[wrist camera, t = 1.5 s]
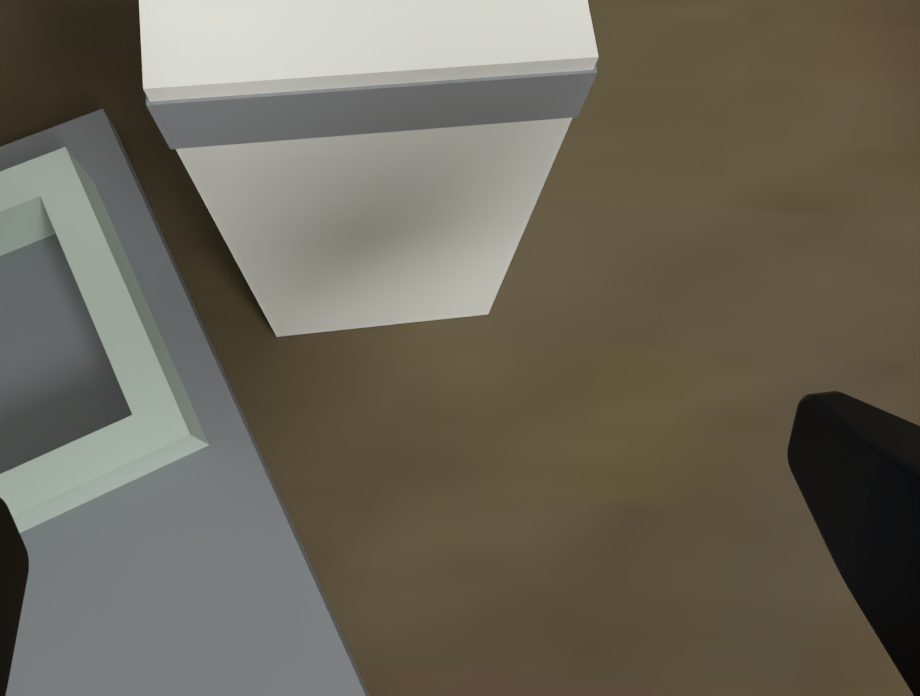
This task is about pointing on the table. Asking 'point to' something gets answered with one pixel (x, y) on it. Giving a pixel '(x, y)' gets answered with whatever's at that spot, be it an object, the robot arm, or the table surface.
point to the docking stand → (136, 457)
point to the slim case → (367, 142)
